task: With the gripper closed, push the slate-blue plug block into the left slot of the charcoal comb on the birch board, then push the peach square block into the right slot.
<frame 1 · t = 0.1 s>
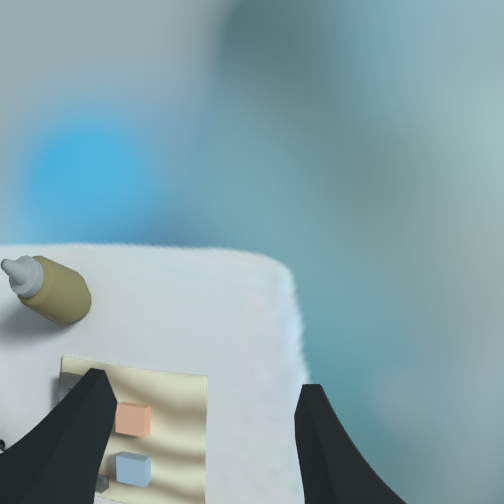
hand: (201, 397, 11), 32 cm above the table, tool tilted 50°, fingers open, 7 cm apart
slate-blue plug: (137, 466, 35), resting on comb board
squeeze bottle: (76, 302, 43), on the table
comb board: (127, 439, 36), on the table
peach square block: (136, 417, 37), resting on comb board
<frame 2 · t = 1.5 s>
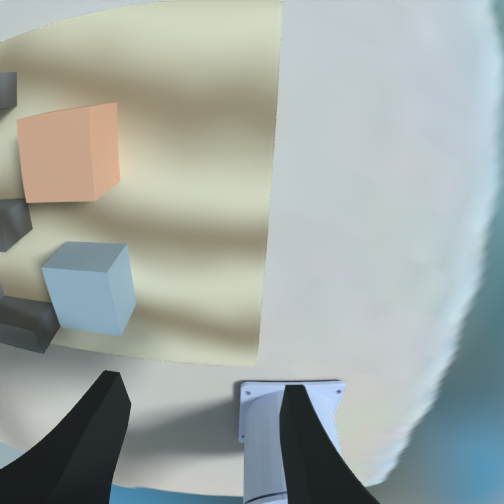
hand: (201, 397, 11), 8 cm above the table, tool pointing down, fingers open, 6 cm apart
slate-blue plug: (101, 272, 17), resting on comb board
comb board: (72, 209, 16), on the table
peach square block: (83, 144, 14), resting on comb board
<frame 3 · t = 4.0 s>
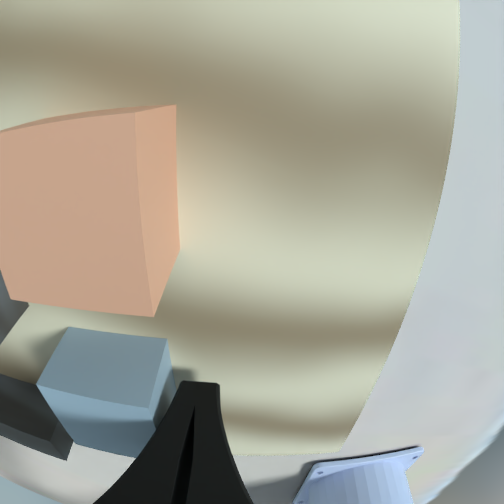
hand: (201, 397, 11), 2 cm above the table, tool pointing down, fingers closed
slate-blue plug: (125, 369, 12), point 1 cm above the table, touching gripper
comb board: (90, 283, 10), on the table
peach square block: (107, 181, 8), resting on comb board
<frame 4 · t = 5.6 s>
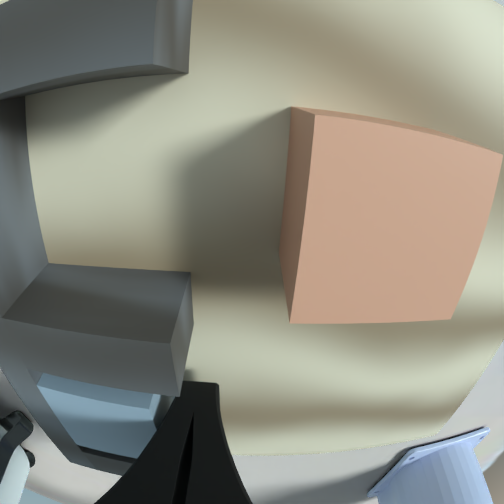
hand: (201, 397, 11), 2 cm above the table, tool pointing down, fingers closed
slate-blue plug: (125, 370, 12), resting on comb board, touching gripper
comb board: (287, 294, 10), on the table
peach square block: (359, 189, 8), resting on comb board
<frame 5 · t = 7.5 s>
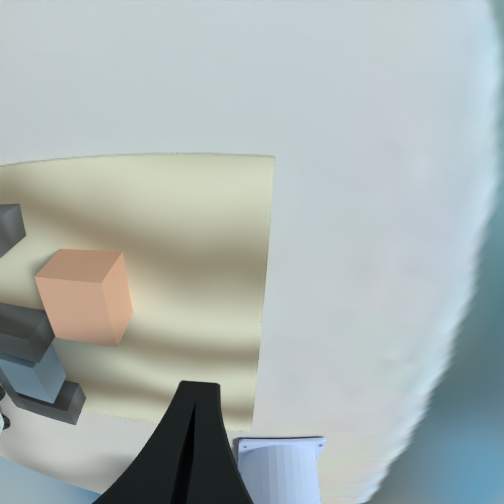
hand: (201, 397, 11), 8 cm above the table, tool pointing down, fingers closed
slate-blue plug: (39, 354, 20), resting on comb board
comb board: (91, 323, 19), on the table
peach square block: (96, 281, 17), resting on comb board
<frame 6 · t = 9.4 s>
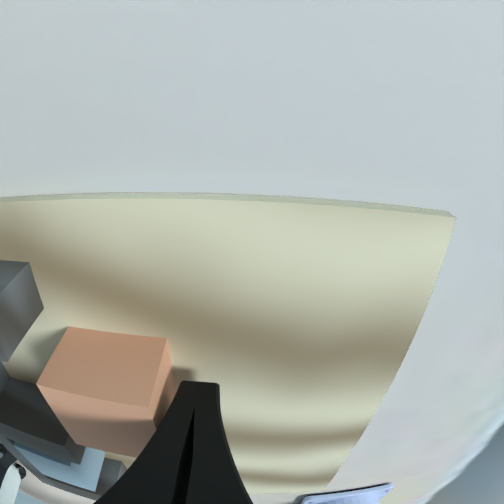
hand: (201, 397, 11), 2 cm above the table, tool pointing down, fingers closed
slate-blue plug: (68, 432, 15), resting on comb board
comb board: (146, 410, 14), on the table
peach square block: (125, 369, 12), point 1 cm above the table, touching gripper
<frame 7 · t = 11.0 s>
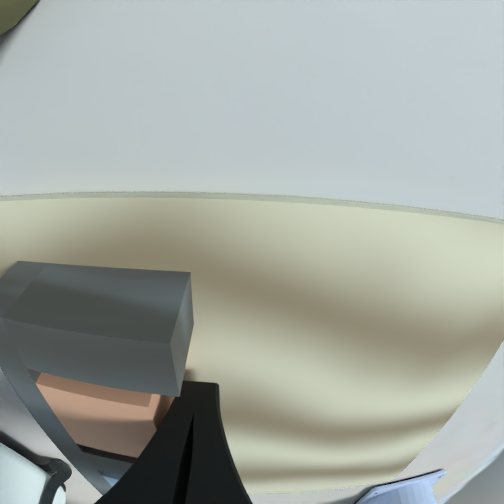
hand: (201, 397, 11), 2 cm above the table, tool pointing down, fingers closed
coffee press: (9, 444, 20), on the table
comb board: (268, 419, 14), on the table
peach square block: (125, 368, 11), resting on comb board, touching gripper
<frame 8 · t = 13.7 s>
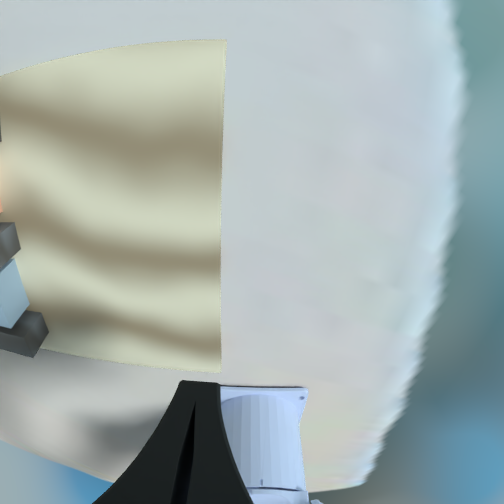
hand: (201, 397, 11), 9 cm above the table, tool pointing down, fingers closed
slate-blue plug: (4, 280, 19), resting on comb board
comb board: (53, 233, 18), on the table
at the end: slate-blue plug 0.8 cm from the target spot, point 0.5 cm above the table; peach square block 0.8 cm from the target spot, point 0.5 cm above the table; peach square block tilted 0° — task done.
